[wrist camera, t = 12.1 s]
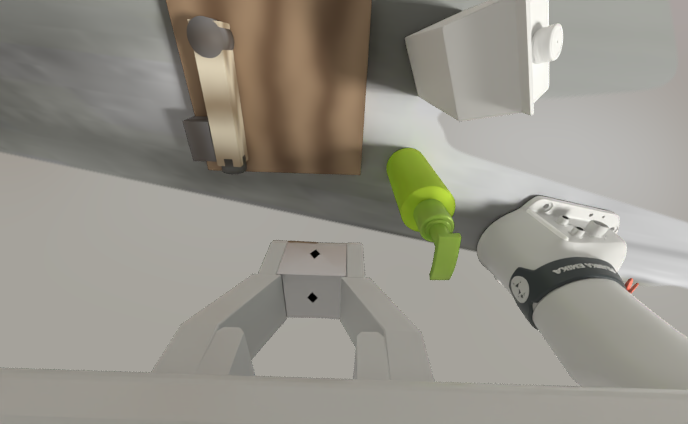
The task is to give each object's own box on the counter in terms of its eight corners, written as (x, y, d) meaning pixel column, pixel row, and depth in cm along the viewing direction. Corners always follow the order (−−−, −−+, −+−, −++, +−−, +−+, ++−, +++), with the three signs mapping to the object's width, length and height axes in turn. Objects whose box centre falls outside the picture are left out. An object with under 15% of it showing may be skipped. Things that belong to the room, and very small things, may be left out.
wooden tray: (370, 3, 30) (373, -7, 25) (359, 168, 40) (361, 183, 36) (177, -3, 30) (145, -14, 25) (216, 163, 40) (198, 178, 36)
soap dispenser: (385, 190, 42) (409, 284, 25) (387, 148, 39) (418, 223, 21) (421, 190, 42) (472, 283, 25) (427, 147, 38) (491, 222, 21)
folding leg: (198, 18, 29) (182, 14, 26) (231, 20, 29) (219, 16, 26) (226, 164, 37) (216, 173, 35) (251, 165, 37) (243, 174, 35)
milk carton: (418, 97, 35) (478, 134, 19) (403, 37, 32) (462, 20, 15) (473, 74, 34) (590, 94, 17) (464, 10, 30) (599, -42, 14)
